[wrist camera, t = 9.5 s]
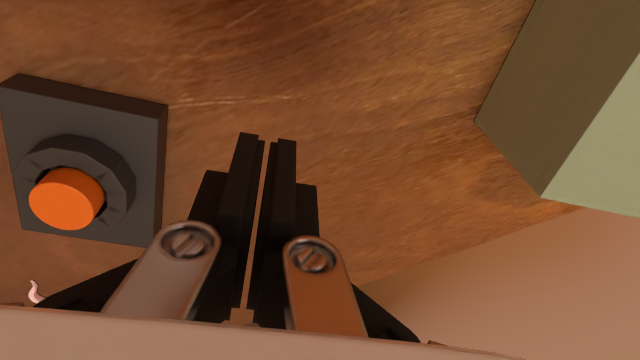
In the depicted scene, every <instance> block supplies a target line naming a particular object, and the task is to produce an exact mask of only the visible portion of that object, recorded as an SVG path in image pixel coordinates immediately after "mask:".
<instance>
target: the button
mask: <svg viewBox="0 0 640 360" xmlns="http://www.w3.org/2000/svg"><path fill="white" fill-rule="evenodd" d="M103 203H104V191H103V189H102V187H101V185H100V184H99V183H98V181H97V180H96V179H95V178H93V177H92V176H90V175H89V174H87V173H85V172H84V171H81V170H78V169H75V168H68V167H63V168H57V169H54V170H52V171H50V172H49V173H48V174H47V175H46V176H45V177H44V178H43V179H42V180H41V181H40V182H39V183H38V184H37V185H36V186H35V187H34V188H33V189H32V190H31V192H30V194H29V205H30V207H31V209H32V211H33V212H34V214H35V215H36V216H37V217H38V218H39V219H40V220H42V221H43V222H45V223H46V224H48V225H50V226H53V227H55V228H59V229H63V230H77V229H81V228H83V227H86V226H87V225H89V224H90V223H91V221H92V220H93V218H94V217H95V215H96V214H97V212H98V211H99V210H100V208H101V207H102V205H103Z"/></svg>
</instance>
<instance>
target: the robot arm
mask: <svg viewBox="0 0 640 360" xmlns="http://www.w3.org/2000/svg"><path fill="white" fill-rule="evenodd" d="M258 137H259V135H255V134H249V133H243V132H240V135H239V138H238V142H237V145H236V149H235V152H234V156H233V159H232V163H231V166H230V169H229V173H225V172H218V171H211V170H206V172H205V175H204V177H203V180H202V183H201V185H200V188H199V190H198V193H197V196H196V198H195V201H194V203H193V206H192V209H191V211H190V214H189V216H188V219H187V221H178V222H175V223H171V224H169V225H167V226H165V227H163V228H162V229H161V230H160V231H159V232H158V233H157V234H156V235H155V237H154V238H153V240H152V241H151V242H150V244H149V245H148V246H147V248H146V249H145V251H144V252H143V253H142V255H141V256H140V257H139V258H138V259H136V260H133V261H131V262H129V263H126V264H124V265H122V266H119V267H117V268H115V269H112V270H110V271H107V272H105V273H103V274H100V275H98V276H96V277H93V278H91V279H89V280H86V281H84V282H81V283H79V284H77V285H74V286H72V287H70V288H67V289H65V290H63V291H60V292H58V293H55V294H53V295H51V296H49V297H47V298H45V299H43V300H42V301H40V302H38V303H37V304H36V305H35V306H33V307H24V303H23V302H19V303H7V304H0V360H525V359H522V358H518V357H513V356H508V355H504V354H499V353H495V352H488V351H480V350H473V349H466V348H459V347H452V346H447V345H443V344H440V343H437V342H433V341H430V340H429V341H428V343H427V344H424V343H421V342H420V340H419V339H418V337H417V336H416V335H414V333H413V332H412V331H411V330H409V329H408V328H407V327H406V326H404V325H403V324H402V323H401V322H400V321H398V320H397V319H396V318H394V317H393V316H392V315H391V314H389V313H388V312H387V311H386V310H385V309H383V308H382V307H381V306H380V305H378V304H377V303H376V302H375V301H373V300H372V299H371V298H370V297H368V296H367V295H366V294H365V293H363V292H362V291H361V290H359V289H358V288H357V287H356V286H355V285H354V284H352V283H351V282H350V279H349V276H348V273H347V270H346V267H345V264H344V261H343V258H342V255H341V254H340V252H339V250H338V249H337V248H336V247H335V246H334V245H333V244H332V243H330V242H329V241H327V240H325V239H322V238H320V236H319V220H318V205H317V189H316V186H314V185H307V184H300V183H296V141H292V140H286V139H280V138H278V143H275V142H271V144H270V150H269V157H268V163H267V170H266V176H265V183H264V189H263V196H262V202H261V209H260V215H259V222H258V229H257V237H256V244H255V251H254V258H253V265H252V272H251V279H250V286H249V294H248V301H247V308H246V309H251V310H254V316H253V323H257V324H258V325H259V326H260V327H251V326H241V325H230V324H220V323H221V322H223V321H224V320H229V319H230V314H231V308H240V303H241V297H242V290H243V284H244V278H245V271H246V265H247V259H248V252H249V246H250V240H251V233H252V227H253V221H254V214H255V207H256V200H257V193H258V186H259V179H260V173H261V166H262V159H263V152H264V145H265V141H263V140H258Z"/></svg>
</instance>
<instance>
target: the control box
mask: <svg viewBox="0 0 640 360" xmlns="http://www.w3.org/2000/svg"><path fill="white" fill-rule="evenodd" d="M0 114H1V119H2V124H3V130H4V135H5V140H6V146H7V151H8V156H9V162H10V167H11V172H12V178H13V183H14V188H15V194H16V199H17V204H18V210H19V215H20V220H21V226H22V229H23V230H29V231H36V232H43V233H49V234H56V235H63V236H70V237H76V238H83V239H90V240H96V241H103V242H110V243H116V244H123V245H130V246H136V247H143V248H147V246H148V245H149V244H150V242H151V241H152V240H153V238H154V237H155V235H156V234H157V233H158V232H159V231H160V230H161V219H162V202H163V184H164V167H165V150H166V132H167V115H168V106H167V105H163V104H158V103H153V102H149V101H144V100H139V99H135V98H130V97H125V96H121V95H116V94H111V93H106V92H102V91H97V90H92V89H88V88H83V87H78V86H74V85H69V84H64V83H59V82H55V81H50V80H45V79H41V78H36V77H31V76H27V75H22V74H16V75H14V76H12V77H10V78H9V79H7V80H5V81H3V82H1V83H0ZM63 167H68V168H75V169H78V170H81V171H84V172H85V173H87V174H89V175H90V176H92V177H93V178H95V179H96V180H97V181H98V183H99V184H100V185H101V187H102V189H103V191H104V203H103V205H102V207H101V208H100V210H99V211H98V212H97V214H96V215H95V217H94V218H93V220H92V221H91V223H90V224H89V225H87V226H86V227H83V228H81V229H77V230H63V229H59V228H55V227H53V226H50V225H48V224H46V223H45V222H43V221H42V220H40V219H39V218H38V217H37V216H36V215H35V214H34V212H33V211H32V209H31V207H30V205H29V194H30V192H31V190H32V189H33V188H34V187H35V186H36V185H37V184H38V183H39V182H40V181H41V180H42V179H43V178H44V177H45V176H46V175H47V174H48V173H49V172H50V171H52V170H54V169H57V168H63Z"/></svg>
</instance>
